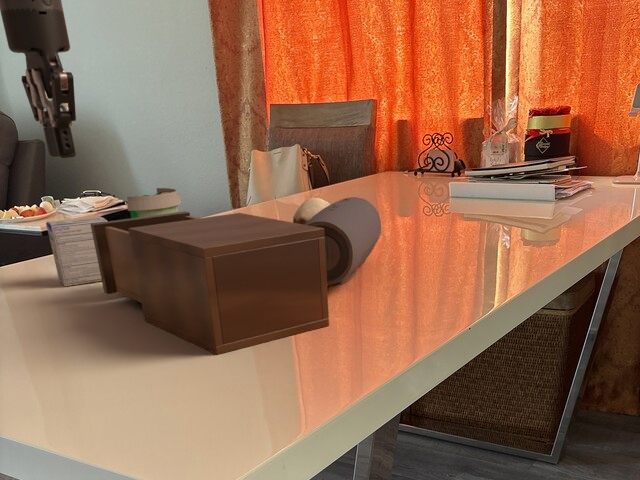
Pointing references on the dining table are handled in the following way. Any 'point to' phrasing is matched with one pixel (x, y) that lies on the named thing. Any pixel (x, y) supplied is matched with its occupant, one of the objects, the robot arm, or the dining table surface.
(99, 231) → the drawer
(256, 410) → the dining table surface
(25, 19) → the robot arm
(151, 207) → the food container
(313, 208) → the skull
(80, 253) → the medicine box
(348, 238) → the bluetooth speaker
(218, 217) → the cabinet
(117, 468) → the dining table surface
